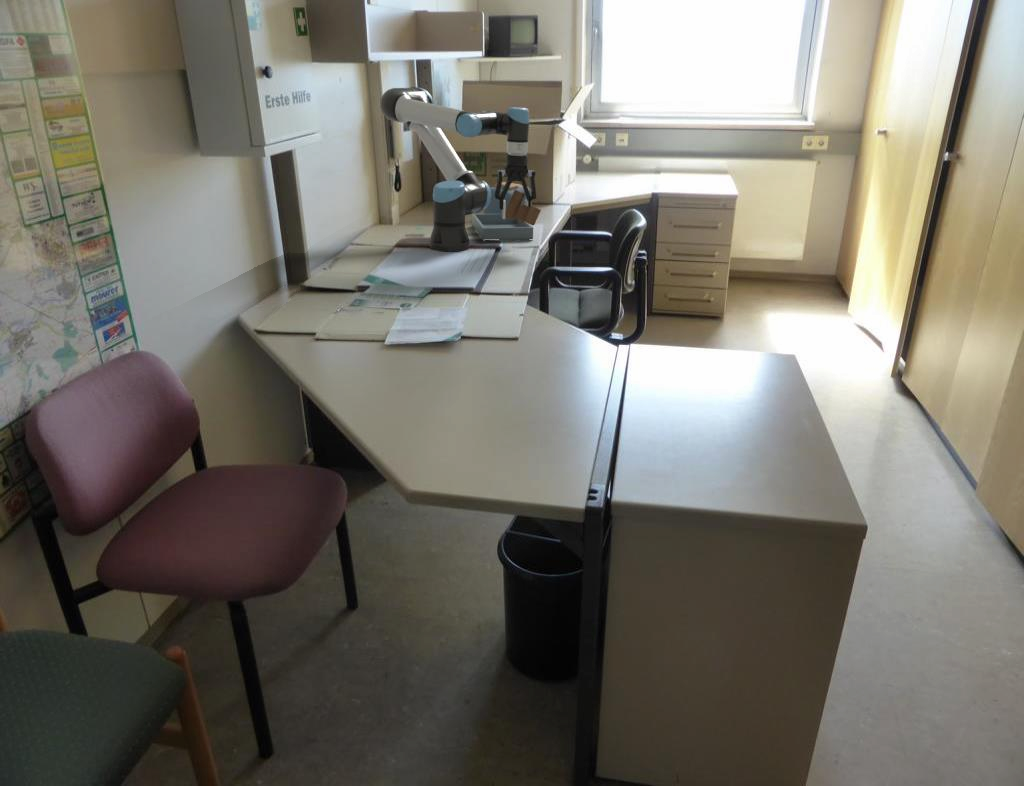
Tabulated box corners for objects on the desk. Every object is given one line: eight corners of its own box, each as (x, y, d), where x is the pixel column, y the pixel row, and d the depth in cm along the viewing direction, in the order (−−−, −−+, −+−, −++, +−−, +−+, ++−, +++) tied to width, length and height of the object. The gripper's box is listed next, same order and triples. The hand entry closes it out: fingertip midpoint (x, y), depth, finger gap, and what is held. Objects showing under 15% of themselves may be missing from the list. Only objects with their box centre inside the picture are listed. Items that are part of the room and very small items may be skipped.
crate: (482, 241, 284) (482, 228, 282) (472, 225, 309) (472, 214, 307) (532, 240, 288) (533, 227, 286) (518, 225, 313) (518, 213, 310)
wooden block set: (536, 231, 265) (548, 205, 263) (517, 223, 260) (529, 196, 258) (514, 219, 279) (525, 194, 277) (496, 211, 275) (507, 185, 272)
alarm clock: (533, 220, 323) (535, 183, 317) (506, 224, 313) (507, 186, 307) (509, 214, 334) (510, 178, 328) (481, 218, 324) (482, 181, 317)
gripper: (490, 155, 255) (488, 220, 264) (547, 155, 259) (544, 220, 268) (486, 152, 261) (485, 216, 271) (542, 153, 265) (539, 216, 275)
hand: (514, 218), depth 270 cm, fingers closed on wooden block set, 8 cm apart
